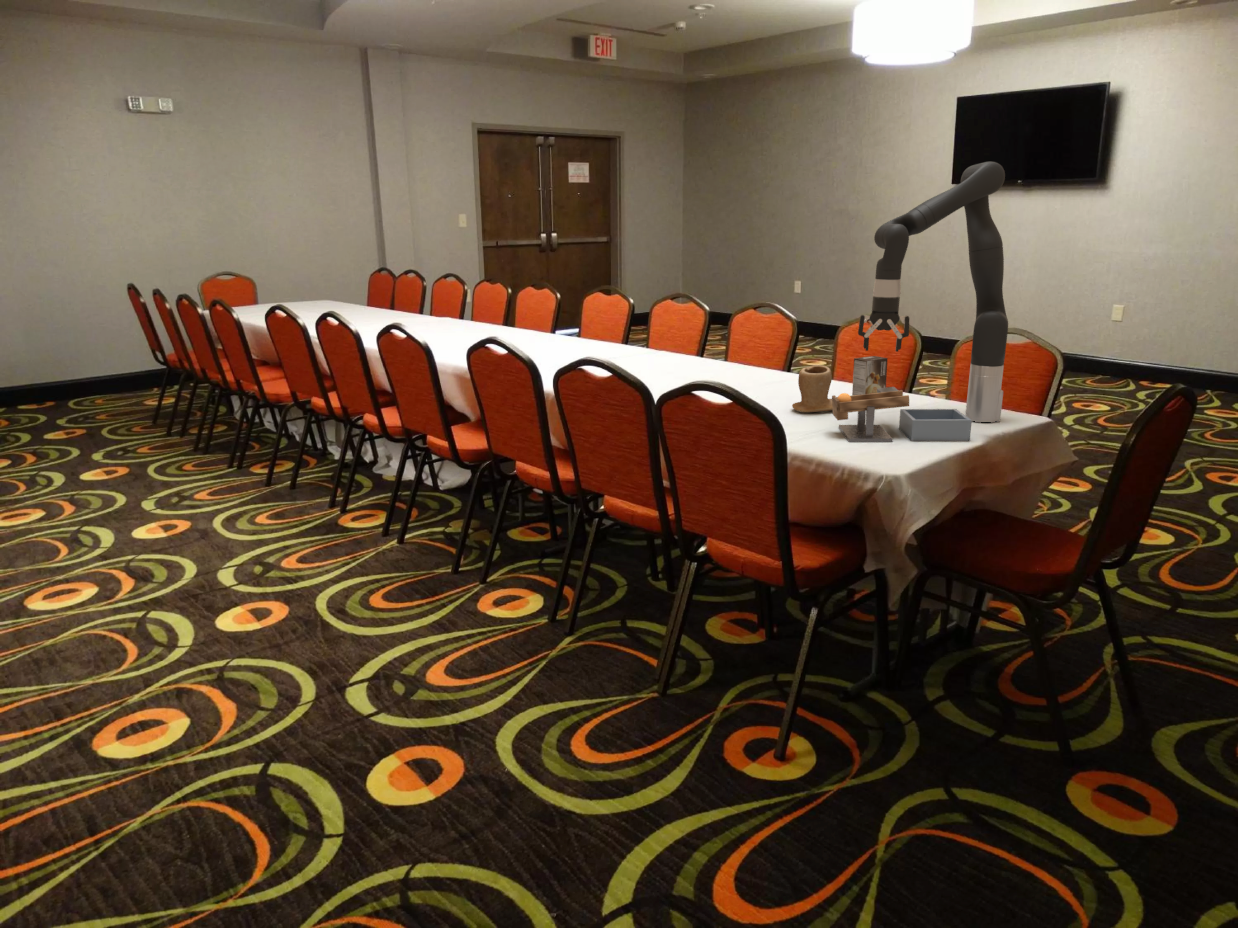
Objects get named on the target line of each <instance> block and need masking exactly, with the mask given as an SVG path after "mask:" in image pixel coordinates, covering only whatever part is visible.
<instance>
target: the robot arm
mask: <svg viewBox="0 0 1238 928" xmlns="http://www.w3.org/2000/svg"><path fill="white" fill-rule="evenodd" d="M1005 172H1006V171H1005V170H1004V167H1003V165H1001V164H1000V163H998V162H997V161H984V162H980V163H975V164H973V165H970V166H968V167H967V168H966V169H965V170H964V171H963V172H962V175H961V177H960V183H958V184H957V185H955V186H953V187H952V188H950V189H948V190H945V191H944V192H941V193H939V194H937V195H935V196H933V197H931V198H929V199H927V200H925V201H923V202H921V203H920V204H918V205H917V206H915V207H913V208H912V209H910V210H909V211H908V212H906V213H904V214H902V215H899V216H897V217H895V218H893V219H891V220H889V221H887V222H885V223H883V224H882V225H880V226H879V227H878V228H877V230H876V231H875V233H874V243H875V245H876V246H877V247H878V248H881V249H883V250H884V252H883V257H882V258H880V259H878V260H877V262H876V267H875V279H874V284H873V291H872V302H871V303H872V306H871V313H870V315H866V314H865V315H864V314H861V315H860V317H859V323H858V324H859V325H858V329H857V334H858V336H859V337H860V336H861V337H863V349H864V350H865V351H866V352H867V351H869V345H870V335H872V334H873V332H875V330H876V331H888V332H889V331H891V330H892V331H893V333H894V335H896V341H895V352H897V353H898V352H899V351H900V350H901V349H902V341H903V339H904V338H908V337H909V336H910V317H909V315H903V316H900V315H899V310H900V298H901V294H902V293H901V288H902V285H901V283H902V282H901V278H902V265H903V262H904V260H905V258H906V254H907V250H908V246H909V243H910V242H909V241H910V237H911V236H913V235H918V234H921V233H923V232H924V231H926V230H927V229H930V228H931V227H932V226H934V225H936V224H937V223H939V222H940V221H942V220H944V219H946V218H947V217H948V216H950V215H951V214H953V213H955V212H956V211H958V210H960V209H961V208H963V207H964V213H965V220H966V221H965V223H966V232H967V242H968V243H967V244H968V258H969V259H968V261H969V262H968V263H969V269H970V275H971V279H972V283H973V287H974V291H975V297H976V299H975V300H976V306H975V310H976V311H975V321H974V324H973V333H972V343H971V344H972V346H971V353H970V367H969V377H968V384H967V385H968V387H967V397H966V405H965V414H964V415H965V416H967V417H968V418H969V419H971V420H972V422H973V421H975V422H974V423H981V422H991V423H995V421H997V422H1001V415H1002V407H1003V397H1004V390H1002V384H1003V383H1002V382H1003V375H1004V368H1005V367H1004V366H1005V365H1004V364H1005V358H1006V349H1007V342H1008V340H1007V339H1008V334H1009V333H1008V332H1009V320H1008V317H1007V313H1006V312H1007V311H1006V307H1005V303H1004V295H1003V294H1004V293H1003V286H1004V285H1003V283H1004V275H1005V274H1004V270H1005V269H1004V266H1005V265H1004V262H1005V261H1004V260H1005V259H1004V244H1003V239H1002V236H1001V234H1000V232H999V229H998V227H997V226H996V223H995V222H994V220H993V218H992V215H991V212H990V210H991V209H990V201H989V198H990V197H989V196H991V195H993V194H995V193H996V192H998V191H999V190H1000V189H1001V188H1002V186H1003V184H1004V183H1005V180H1006V178H1005V177H1006V173H1005ZM868 320H869V321H870V322H871V324H872V325H870V327H868V329H867V330H866V331H864V325H865V324H866V323H867V321H868ZM899 322H901V323H902V324H904V325H903V332H902V333H901V332H900V330H899V329H898V328H897V326H896V325H897V324H898V323H899Z"/></svg>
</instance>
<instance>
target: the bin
mask: <svg viewBox="0 0 1238 928" xmlns="http://www.w3.org/2000/svg"><path fill="white" fill-rule="evenodd" d="M965 415H966V414H965V413H964V414H963V413H962V412H961V411H960V410H959V409H957V408H900V411H899V421H898V429H899V430H900V432H902V434H903V435H905V436H906V437H907V439H909V440H910V442H969V441H968V440H970V441H971V431H972V422H973V421H972V420H971V419H969V418H968V417H967V416H965Z"/></svg>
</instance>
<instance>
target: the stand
mask: <svg viewBox="0 0 1238 928" xmlns="http://www.w3.org/2000/svg"><path fill="white" fill-rule="evenodd" d="M875 412H876V411H875V407H874V406H867V409H866V411H858V412H857V421H856V423H857V424H838V429H839V431H840V432H841V433H842V435H843V436H844V437H845V439H846V440H847V441H848V442H849V443H893V437H892V436H891V435H890V434H889V433H888V432H887V431H886V429H884V428H883V427H882V426H881V424H875Z"/></svg>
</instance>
